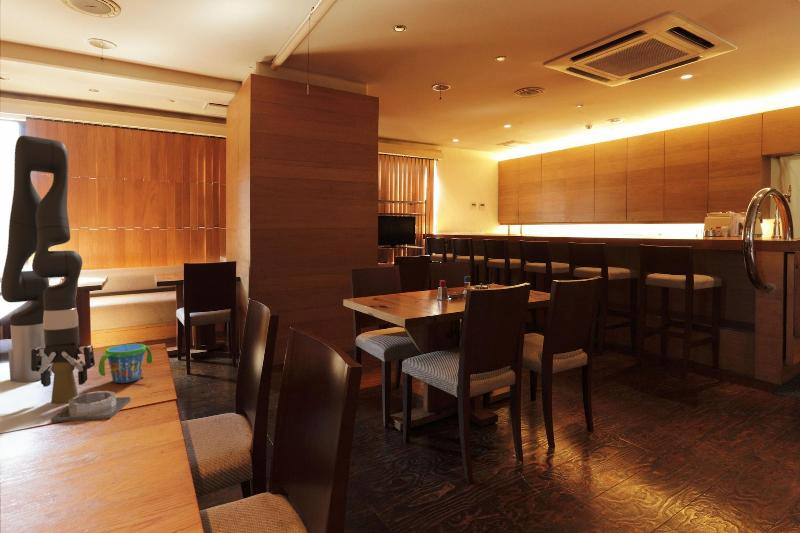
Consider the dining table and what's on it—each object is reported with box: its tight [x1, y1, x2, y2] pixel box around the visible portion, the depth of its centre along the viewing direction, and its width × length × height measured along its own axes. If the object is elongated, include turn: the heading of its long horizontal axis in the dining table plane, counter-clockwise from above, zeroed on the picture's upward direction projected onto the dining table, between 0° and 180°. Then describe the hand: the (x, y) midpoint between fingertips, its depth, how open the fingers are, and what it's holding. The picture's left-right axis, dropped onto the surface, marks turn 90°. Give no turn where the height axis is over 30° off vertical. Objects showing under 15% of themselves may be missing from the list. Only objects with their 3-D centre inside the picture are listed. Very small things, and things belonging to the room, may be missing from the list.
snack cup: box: [98, 343, 153, 384], centre depth 140 cm, size 16×10×10 cm
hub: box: [50, 390, 132, 423], centre depth 117 cm, size 13×12×3 cm
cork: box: [50, 362, 79, 405], centre depth 123 cm, size 6×6×11 cm
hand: (64, 384), depth 123 cm, fingers open, 8 cm apart
